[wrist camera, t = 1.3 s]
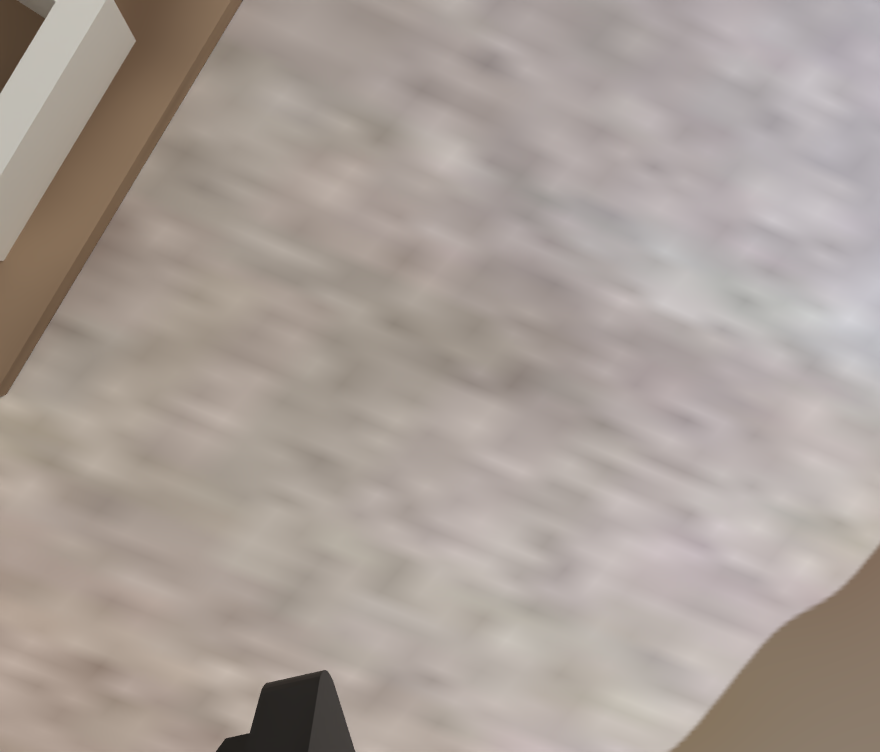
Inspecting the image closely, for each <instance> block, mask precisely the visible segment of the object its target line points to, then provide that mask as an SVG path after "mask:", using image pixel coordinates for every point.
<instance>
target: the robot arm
mask: <svg viewBox="0 0 880 752" xmlns="http://www.w3.org/2000/svg"><path fill="white" fill-rule="evenodd" d="M216 752H355V750H354V746H353V743H352V740H351V737H350V734H349V730H348V727H347V724H346V721H345V718H344V714H343V711H342V708H341V705H340V701H339V698H338V695H337V692H336V689H335V685H334V683H333V680H332V678H331V676H330V674H329V673H328V671H326V670H323V671H319V672H314V673H310V674H305V675H301V676H296V677H292V678H287V679H283V680H278V681H274V682H269V683H266V684H265V685H264V686H263V688H262V691H261V694H260V697H259V701H258V705H257V708H256V712H255V716H254V719H253V723H252V727H251V731H250V733H248V734H244V735H239V736H235V737H230V738H226V739H225V740H224V741H223V743H222V744H221V745H220V747H219V748H218V749H217V751H216Z"/></svg>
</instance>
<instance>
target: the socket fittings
mask: <svg viewBox="0 0 880 752" xmlns="http://www.w3.org/2000/svg"><path fill="white" fill-rule="evenodd" d="M17 1H19V2H20V3H22V4H23V5H25V6H26V7H28V8H30V9H31V10H33V11H34V12H36V13H37V14H39V15H40V16H42V17H44V18H45V20H44V22H43V24H42V25H41V27H40V29H39V30H38V32H37V34H36V35H35V37H34V39H33V40H32V42H31V44H30V45H29V47H28V49H27V50H26V52H25V53H24V55H23V57H22V58H21V60H20V62H19V63H18V65H17V67H16V68H15V70H14V72H13V73H12V75H11V77H10V78H9V80H8V82H7V83H6V85H5V87H4V88H3V90H2V92H1V93H0V261H4V260H5V258H6V256H7V255H8V253H9V251H10V250H11V248H12V246H13V245H14V243H15V241H16V240H17V238H18V236H19V235H20V233H21V231H22V230H23V228H24V226H25V225H26V223H27V221H28V220H29V218H30V216H31V215H32V213H33V211H34V210H35V208H36V206H37V205H38V203H39V201H40V200H41V198H42V196H43V195H44V193H45V191H46V190H47V188H48V186H49V185H50V183H51V181H52V180H53V178H54V176H55V175H56V173H57V171H58V170H59V168H60V166H61V165H62V163H63V162H64V160H65V158H66V157H67V155H68V153H69V152H70V150H71V148H72V147H73V145H74V143H75V142H76V140H77V138H78V137H79V135H80V133H81V132H82V130H83V128H84V127H85V125H86V123H87V122H88V120H89V118H90V117H91V115H92V113H93V112H94V110H95V108H96V107H97V105H98V103H99V102H100V100H101V98H102V97H103V95H104V93H105V92H106V90H107V88H108V87H109V85H110V83H111V82H112V80H113V78H114V77H115V75H116V73H117V72H118V70H119V68H120V67H121V65H122V63H123V62H124V60H125V58H126V57H127V55H128V53H129V52H130V50H131V48H132V47H133V45H134V43H135V42H136V40H135V38H134V36H133V34H132V32H131V31H130V29H129V27H128V25H127V23H126V22H125V20H124V18H123V16H122V14H121V12H120V11H119V9H118V7H117V5H116V3H115V1H114V0H17Z"/></svg>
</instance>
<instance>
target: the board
mask: <svg viewBox="0 0 880 752" xmlns="http://www.w3.org/2000/svg"><path fill="white" fill-rule="evenodd" d="M114 1H115V3H116V5H117V7H118V9H119V11H120V12H121V14H122V16H123V18H124V20H125V22H126V23H127V25H128V27H129V29H130V31H131V32H132V34H133V36H134V38H135V40H136V42H135V43H134V45H133V47H132V48H131V50H130V52H129V53H128V55H127V57H126V58H125V60H124V62H123V63H122V65H121V67H120V68H119V70H118V72H117V73H116V75H115V77H114V78H113V80H112V82H111V83H110V85H109V87H108V88H107V90H106V92H105V93H104V95H103V97H102V98H101V100H100V102H99V103H98V105H97V107H96V108H95V110H94V112H93V113H92V115H91V117H90V118H89V120H88V122H87V123H86V125H85V127H84V128H83V130H82V132H81V133H80V135H79V137H78V138H77V140H76V142H75V143H74V145H73V147H72V148H71V150H70V152H69V153H68V155H67V157H66V158H65V160H64V162H63V163H62V165H61V166H60V168H59V170H58V171H57V173H56V175H55V176H54V178H53V180H52V181H51V183H50V185H49V186H48V188H47V190H46V191H45V193H44V195H43V196H42V198H41V200H40V201H39V203H38V205H37V206H36V208H35V210H34V211H33V213H32V215H31V216H30V218H29V220H28V221H27V223H26V225H25V226H24V228H23V230H22V231H21V233H20V235H19V236H18V238H17V240H16V241H15V243H14V245H13V246H12V248H11V250H10V251H9V253H8V255H7V256H6V258H5V260H4V261H0V397H1V396H3V395H6V394H7V392H8V391H9V389H10V387H11V386H12V384H13V382H14V381H15V379H16V377H17V376H18V374H19V372H20V371H21V369H22V367H23V366H24V364H25V362H26V361H27V359H28V357H29V356H30V354H31V352H32V351H33V349H34V347H35V346H36V344H37V342H38V341H39V339H40V337H41V336H42V334H43V332H44V331H45V329H46V327H47V326H48V324H49V322H50V321H51V319H52V317H53V316H54V314H55V312H56V311H57V309H58V307H59V306H60V304H61V302H62V301H63V299H64V297H65V296H66V294H67V292H68V291H69V289H70V287H71V286H72V284H73V282H74V281H75V279H76V277H77V276H78V274H79V272H80V271H81V269H82V267H83V266H84V264H85V262H86V261H87V259H88V257H89V256H90V254H91V252H92V251H93V249H94V247H95V246H96V244H97V242H98V241H99V239H100V237H101V236H102V234H103V232H104V231H105V229H106V227H107V226H108V224H109V222H110V221H111V219H112V217H113V216H114V214H115V212H116V211H117V209H118V207H119V206H120V204H121V202H122V201H123V199H124V197H125V196H126V194H127V192H128V191H129V189H130V187H131V186H132V184H133V182H134V181H135V179H136V177H137V176H138V174H139V172H140V171H141V169H142V167H143V166H144V164H145V162H146V161H147V159H148V157H149V156H150V154H151V152H152V151H153V149H154V147H155V146H156V144H157V142H158V141H159V139H160V137H161V136H162V134H163V132H164V131H165V129H166V127H167V126H168V124H169V122H170V121H171V119H172V117H173V116H174V114H175V112H176V111H177V109H178V107H179V106H180V104H181V102H182V101H183V99H184V97H185V96H186V94H187V92H188V91H189V89H190V87H191V86H192V84H193V82H194V81H195V79H196V77H197V76H198V74H199V72H200V71H201V69H202V67H203V66H204V64H205V62H206V61H207V59H208V57H209V56H210V54H211V52H212V51H213V49H214V47H215V46H216V44H217V42H218V41H219V39H220V37H221V36H222V34H223V32H224V31H225V29H226V27H227V26H228V24H229V22H230V21H231V19H232V17H233V16H234V14H235V12H236V11H237V9H238V7H239V6H240V4H241V2H242V1H243V0H114ZM44 20H45V18H44V17H42V16H40V15H39V14H37V13H36V12H34V11H33V10H31V9H30V8H28V7H26V6H25V5H23V4H22V3H20V2H19V1H17V0H0V93H1V92H2V90H3V88H4V87H5V85H6V83H7V82H8V80H9V78H10V77H11V75H12V73H13V72H14V70H15V68H16V67H17V65H18V63H19V62H20V60H21V58H22V57H23V55H24V53H25V52H26V50H27V49H28V47H29V45H30V44H31V42H32V40H33V39H34V37H35V35H36V34H37V32H38V30H39V29H40V27H41V25H42V24H43V22H44Z"/></svg>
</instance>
